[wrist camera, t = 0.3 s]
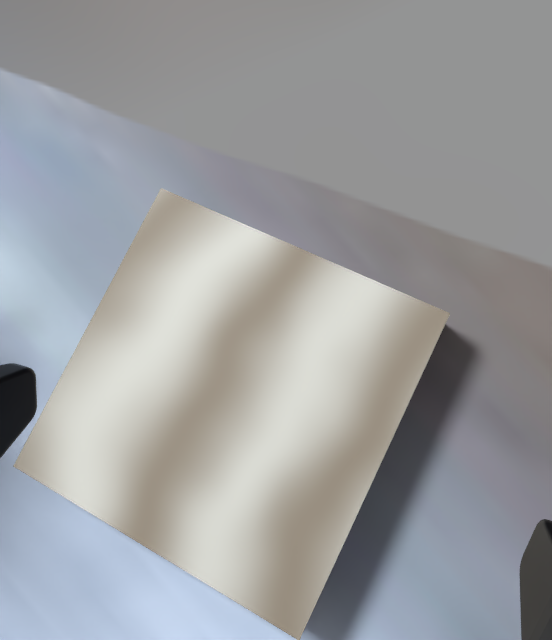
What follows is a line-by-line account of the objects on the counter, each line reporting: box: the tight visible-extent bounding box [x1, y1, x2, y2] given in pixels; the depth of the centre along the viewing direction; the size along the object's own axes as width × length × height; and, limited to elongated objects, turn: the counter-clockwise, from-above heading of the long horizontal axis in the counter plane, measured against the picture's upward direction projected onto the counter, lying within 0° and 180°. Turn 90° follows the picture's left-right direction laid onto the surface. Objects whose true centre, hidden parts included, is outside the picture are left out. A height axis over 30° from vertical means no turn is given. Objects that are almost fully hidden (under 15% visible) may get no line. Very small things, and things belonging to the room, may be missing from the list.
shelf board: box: [14, 188, 450, 640], centre depth 23 cm, size 14×14×2 cm
